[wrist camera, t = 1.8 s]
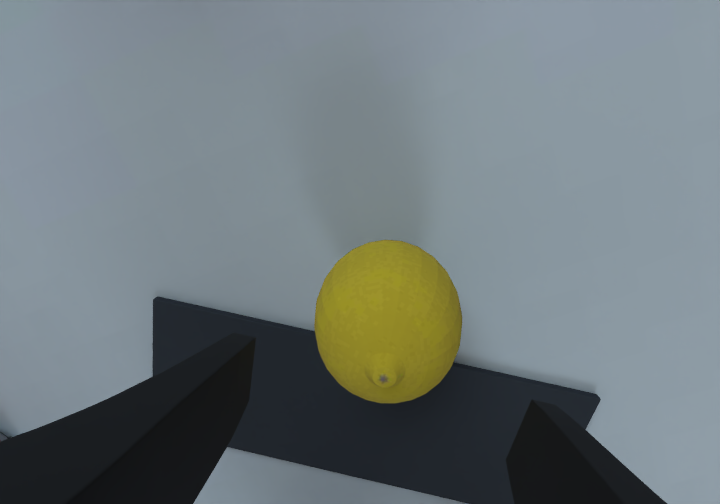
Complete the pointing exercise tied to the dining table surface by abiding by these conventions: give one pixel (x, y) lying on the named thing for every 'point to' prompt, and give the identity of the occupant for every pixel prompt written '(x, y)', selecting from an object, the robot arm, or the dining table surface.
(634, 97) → the dining table surface
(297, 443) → the mat
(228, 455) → the dining table surface
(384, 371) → the lemon
